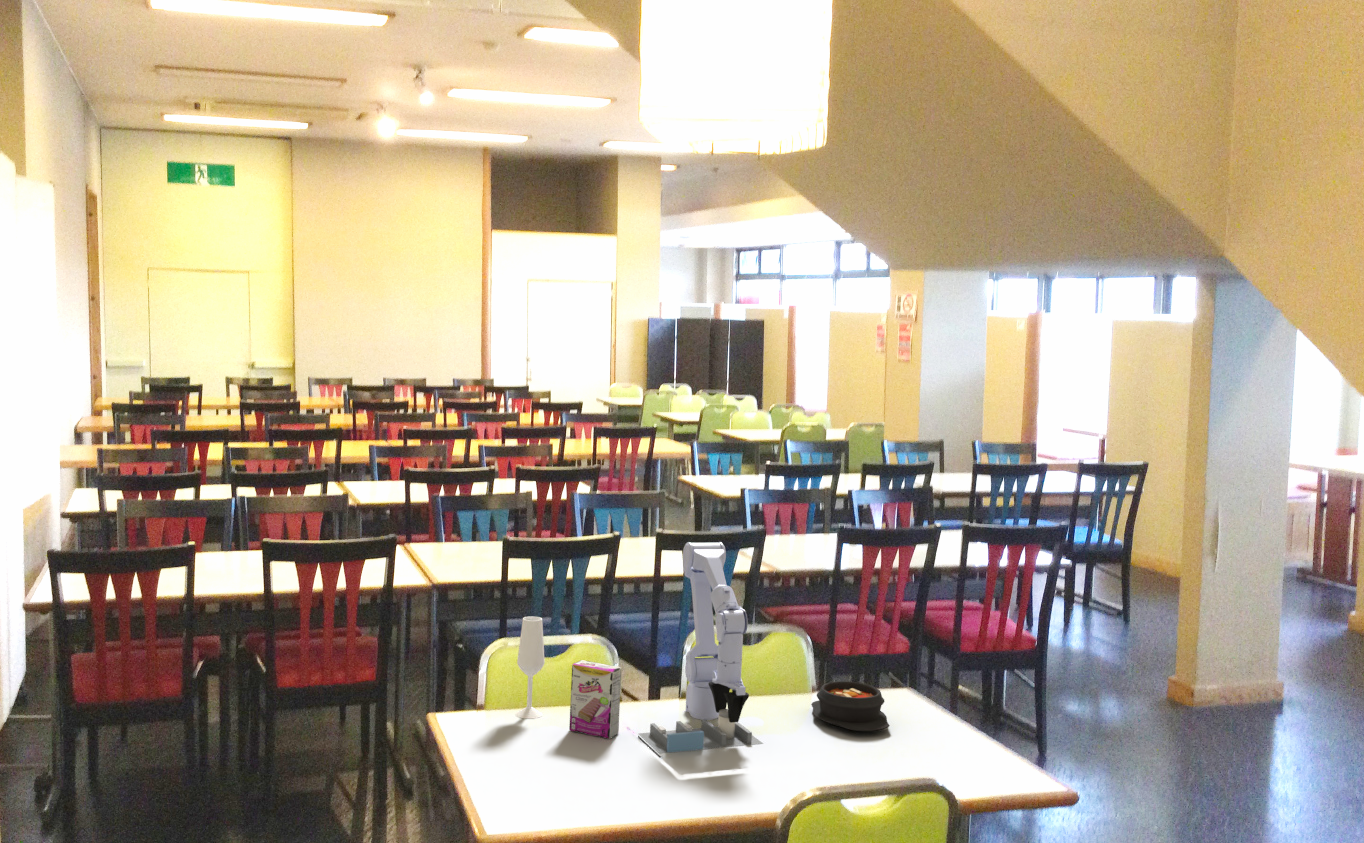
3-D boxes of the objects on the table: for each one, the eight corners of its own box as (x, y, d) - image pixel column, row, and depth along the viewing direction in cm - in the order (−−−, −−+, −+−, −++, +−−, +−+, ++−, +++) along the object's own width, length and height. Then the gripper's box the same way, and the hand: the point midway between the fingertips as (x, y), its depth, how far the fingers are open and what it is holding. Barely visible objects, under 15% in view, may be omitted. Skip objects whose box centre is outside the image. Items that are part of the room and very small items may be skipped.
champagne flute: (536, 719, 294) (539, 623, 293) (510, 716, 296) (514, 620, 294) (546, 712, 301) (550, 617, 299) (521, 708, 302) (525, 614, 301)
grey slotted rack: (637, 737, 285) (638, 716, 284) (737, 728, 294) (738, 708, 294) (659, 757, 272) (660, 736, 271) (763, 747, 282) (764, 726, 281)
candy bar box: (568, 731, 287) (570, 663, 286) (578, 725, 291) (581, 659, 290) (609, 740, 282) (612, 671, 281) (619, 734, 287) (622, 666, 285)
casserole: (907, 735, 296) (908, 701, 295) (839, 740, 289) (841, 706, 289) (858, 704, 319) (859, 673, 318) (794, 709, 312) (796, 677, 312)
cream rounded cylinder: (714, 734, 287) (716, 709, 286) (730, 732, 288) (731, 708, 288) (721, 739, 283) (722, 714, 282) (737, 738, 284) (738, 713, 284)
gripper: (702, 653, 289) (699, 709, 290) (726, 669, 276) (724, 727, 277) (728, 651, 292) (726, 706, 293) (754, 667, 279) (751, 725, 280)
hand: (727, 716), depth 285 cm, fingers open, 7 cm apart
